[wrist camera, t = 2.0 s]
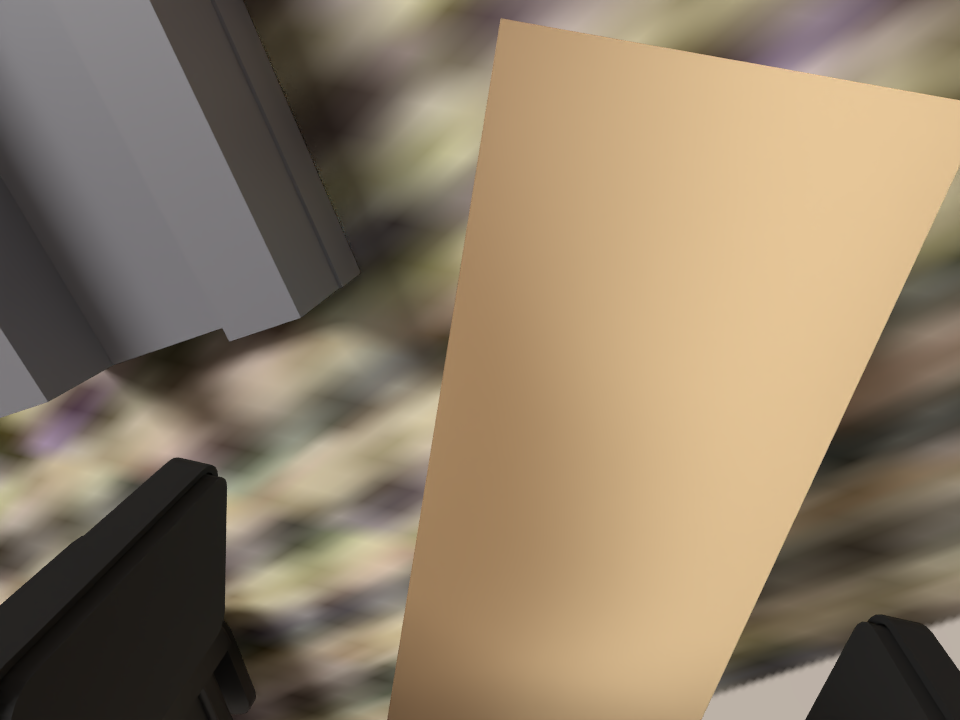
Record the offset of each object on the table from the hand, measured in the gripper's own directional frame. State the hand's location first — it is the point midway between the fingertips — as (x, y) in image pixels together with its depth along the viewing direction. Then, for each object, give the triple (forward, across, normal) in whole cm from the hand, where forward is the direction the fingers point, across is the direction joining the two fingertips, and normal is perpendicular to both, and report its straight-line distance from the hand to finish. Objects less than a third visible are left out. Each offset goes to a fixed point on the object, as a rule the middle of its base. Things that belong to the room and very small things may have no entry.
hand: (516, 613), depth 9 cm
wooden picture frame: (+10, -1, -1) cm, 10 cm away
